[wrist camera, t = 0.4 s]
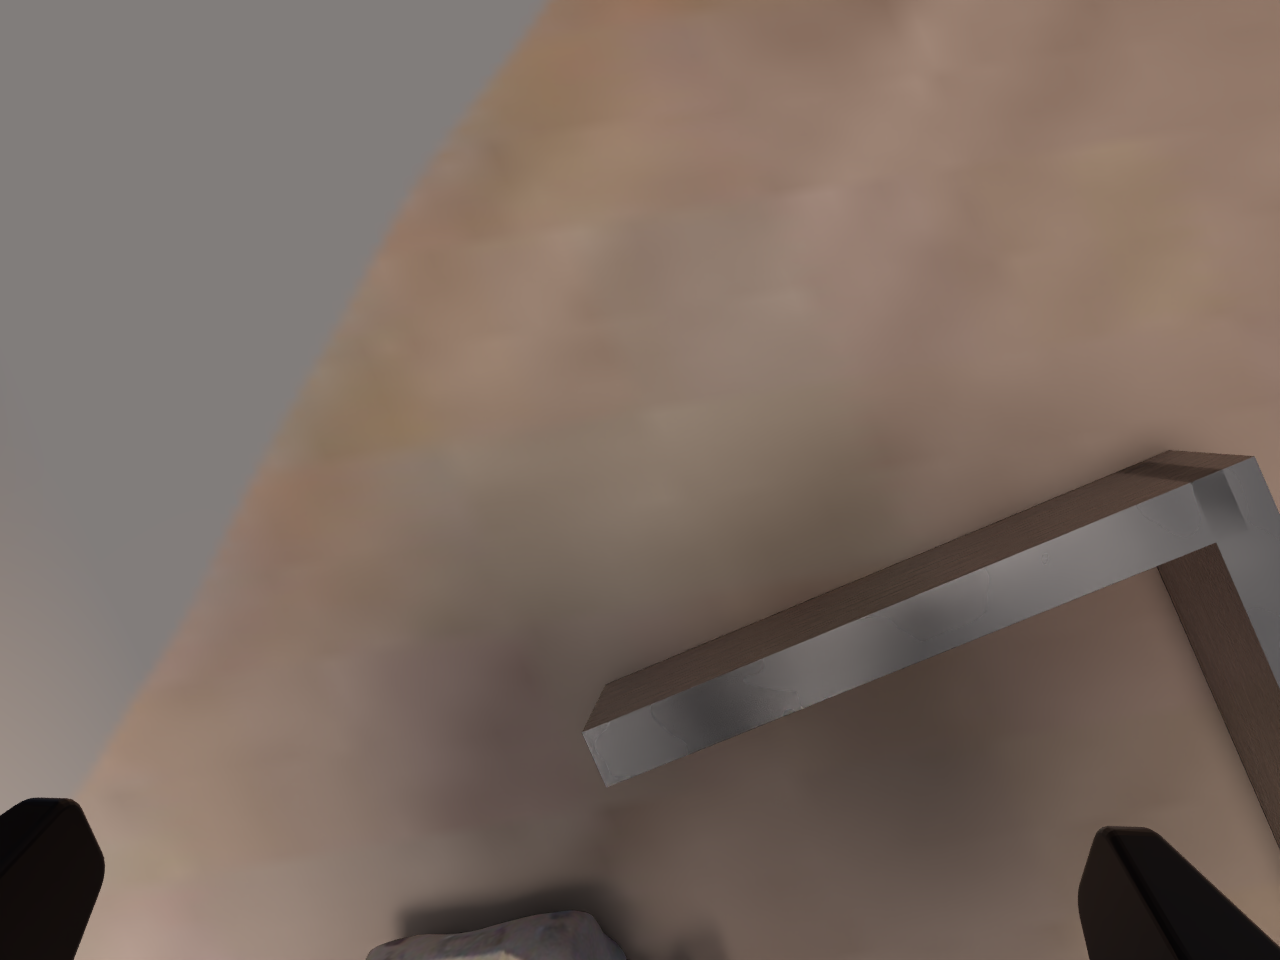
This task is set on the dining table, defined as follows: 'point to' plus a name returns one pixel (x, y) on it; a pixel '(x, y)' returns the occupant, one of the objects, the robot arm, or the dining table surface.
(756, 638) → the receiver
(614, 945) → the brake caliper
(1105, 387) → the dining table surface
